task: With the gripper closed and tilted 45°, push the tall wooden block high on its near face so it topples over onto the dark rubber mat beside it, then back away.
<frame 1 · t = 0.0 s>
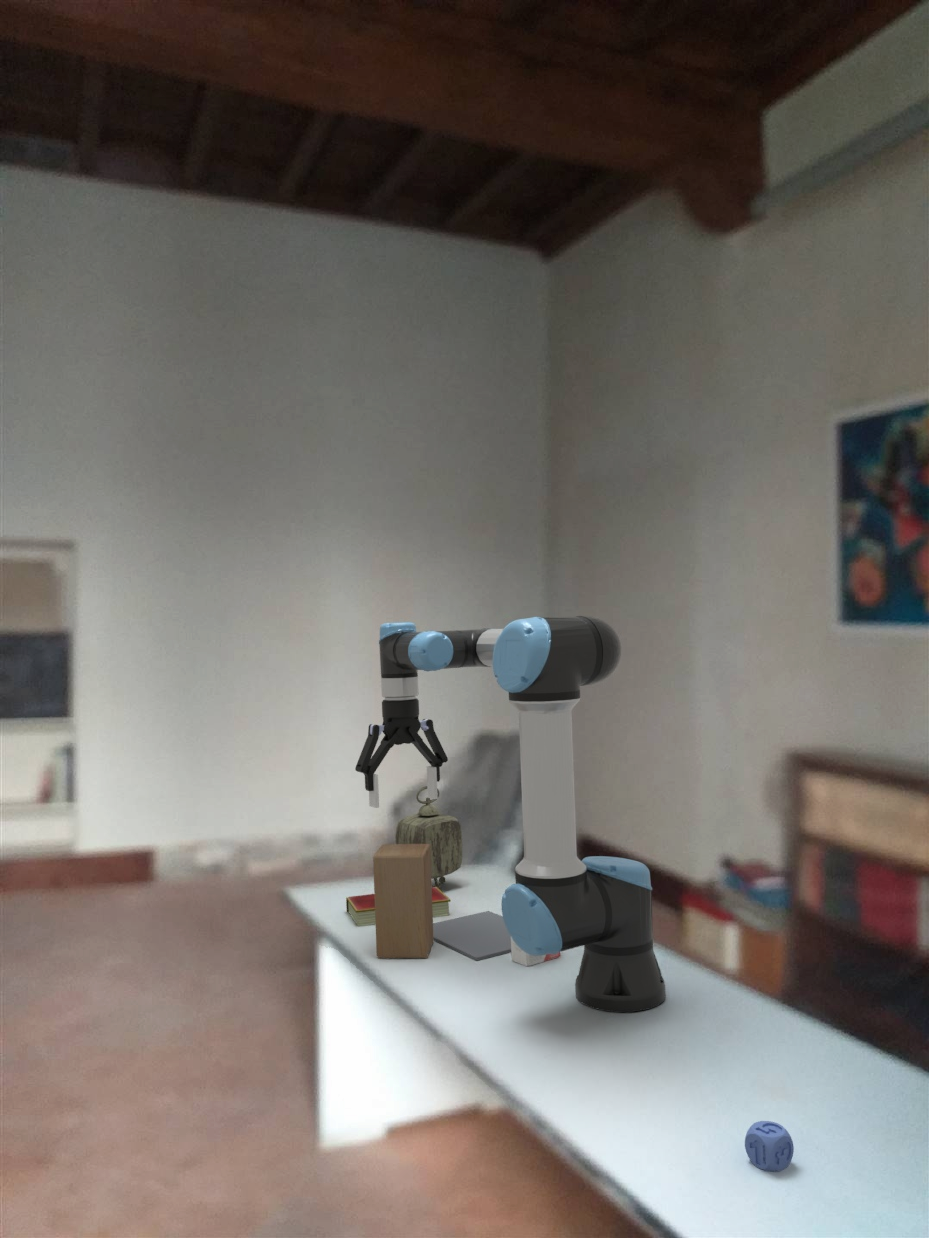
hand: (404, 802, 207), 28 cm above the table, tool pointing down, fingers open, 13 cm apart
decorative dice: (769, 1164, 119), on the table
hardcover book: (398, 916, 226), on the table
ink cartridge box: (535, 959, 193), on the table
tabletop clock: (432, 890, 245), on the table
wooden block: (405, 951, 200), on the table
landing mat: (483, 935, 208), on the table
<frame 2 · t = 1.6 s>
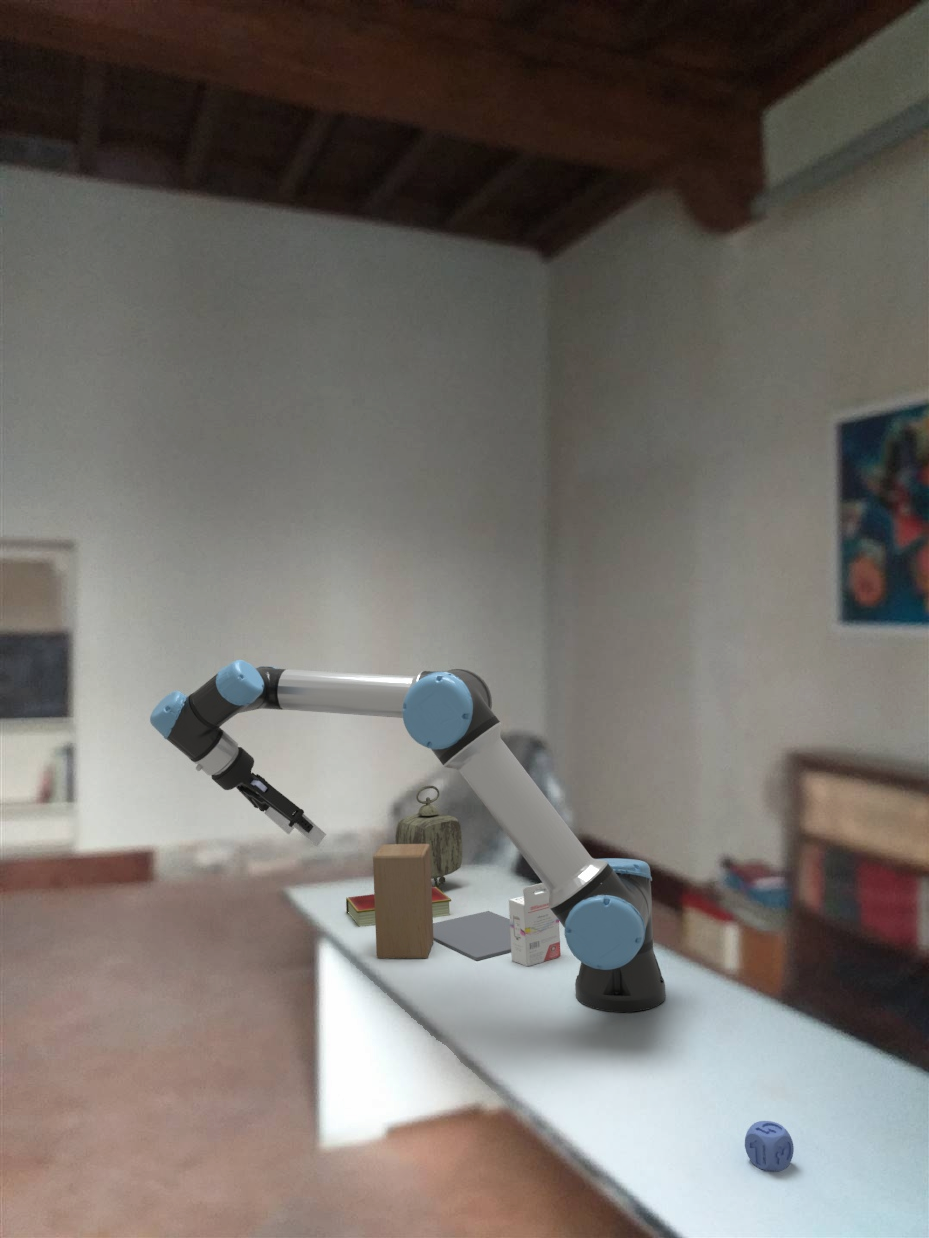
hand: (306, 834, 190), 26 cm above the table, tool tilted 45°, fingers open, 12 cm apart
nothing on the table moved.
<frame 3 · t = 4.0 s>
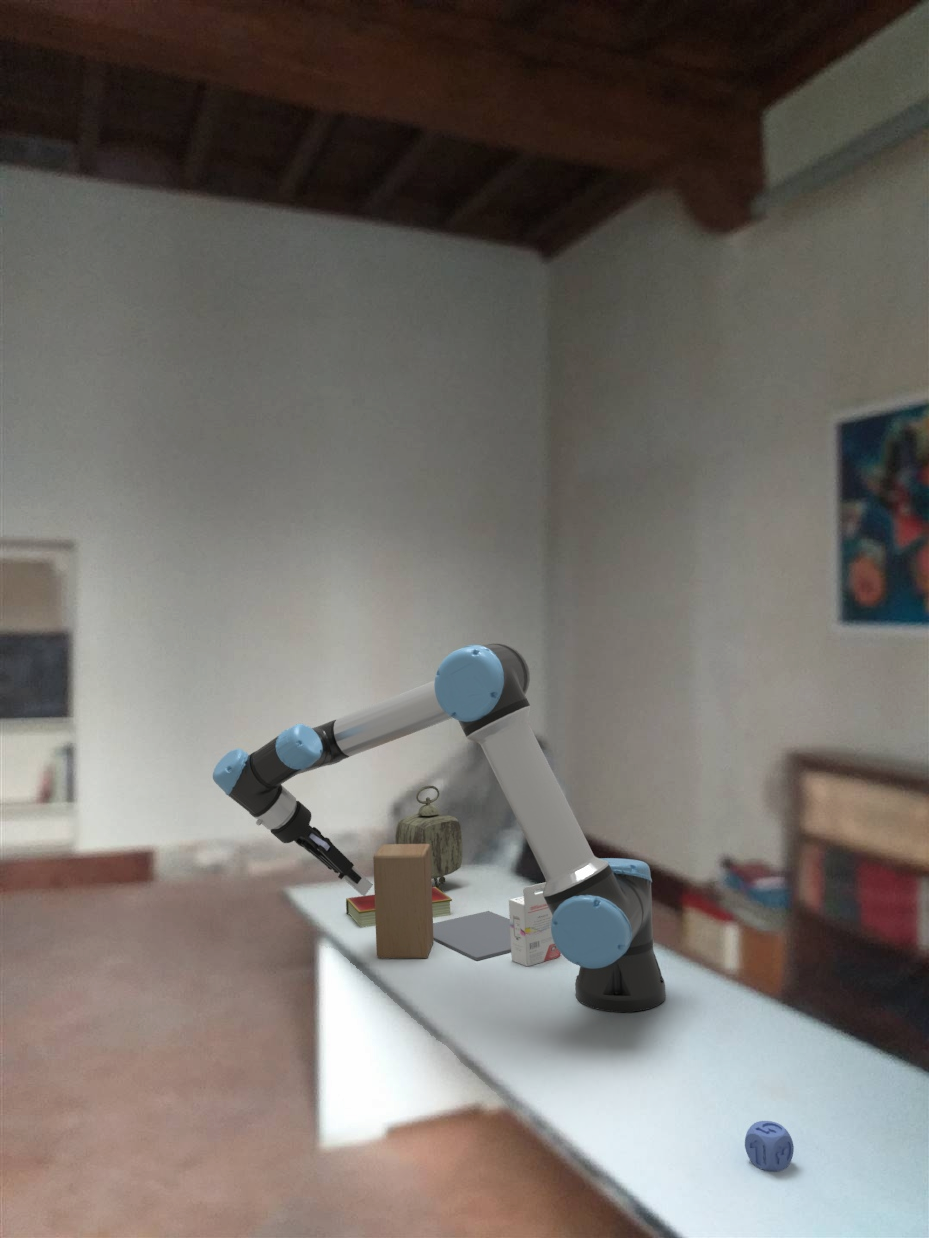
hand: (367, 889, 196), 13 cm above the table, tool tilted 45°, fingers closed
wooden block: (405, 951, 200), on the table, touching gripper
everything else where it was.
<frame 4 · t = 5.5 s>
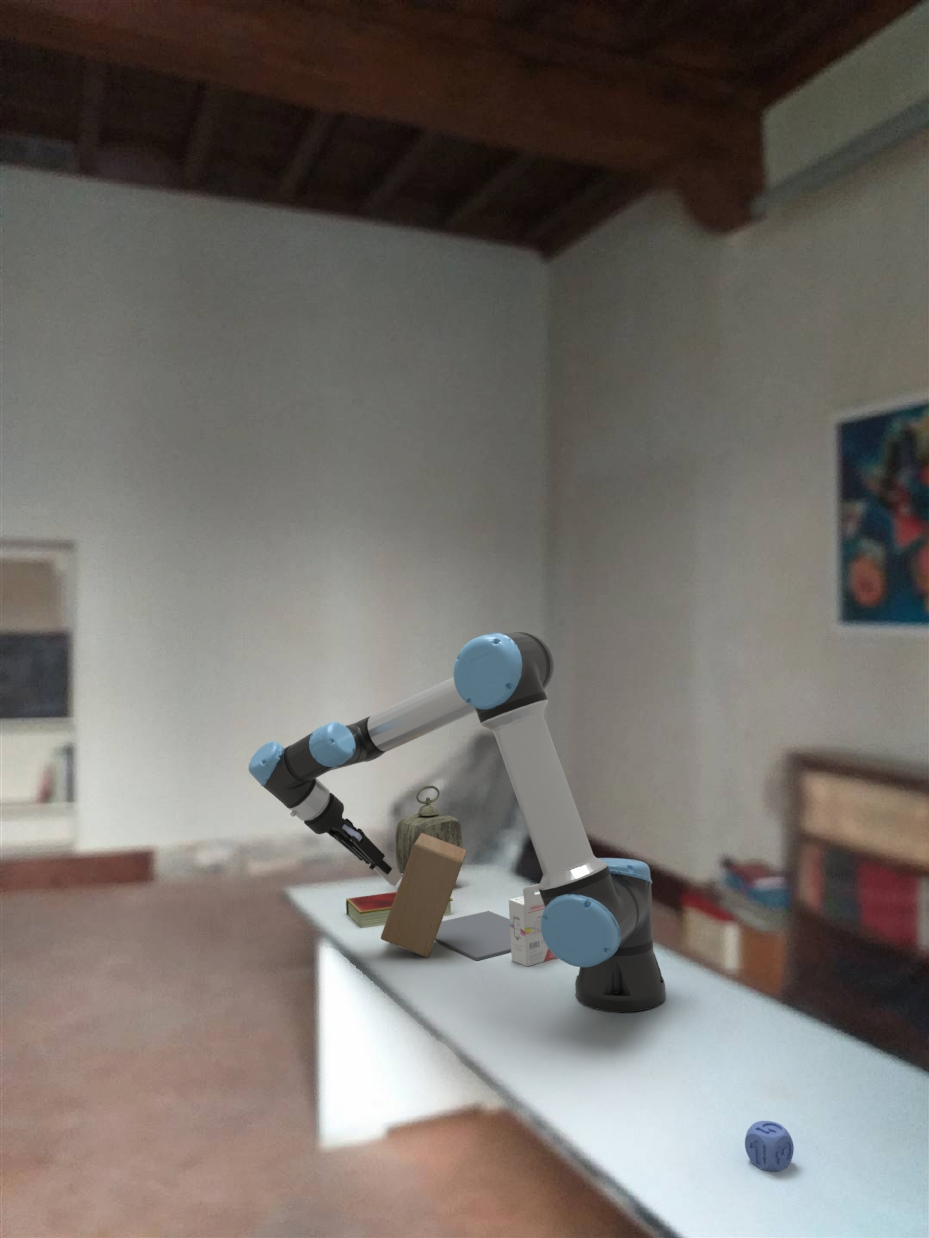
hand: (396, 880, 200), 14 cm above the table, tool tilted 45°, fingers closed
wooden block: (407, 941, 200), point 2 cm above the table
everything else where it was.
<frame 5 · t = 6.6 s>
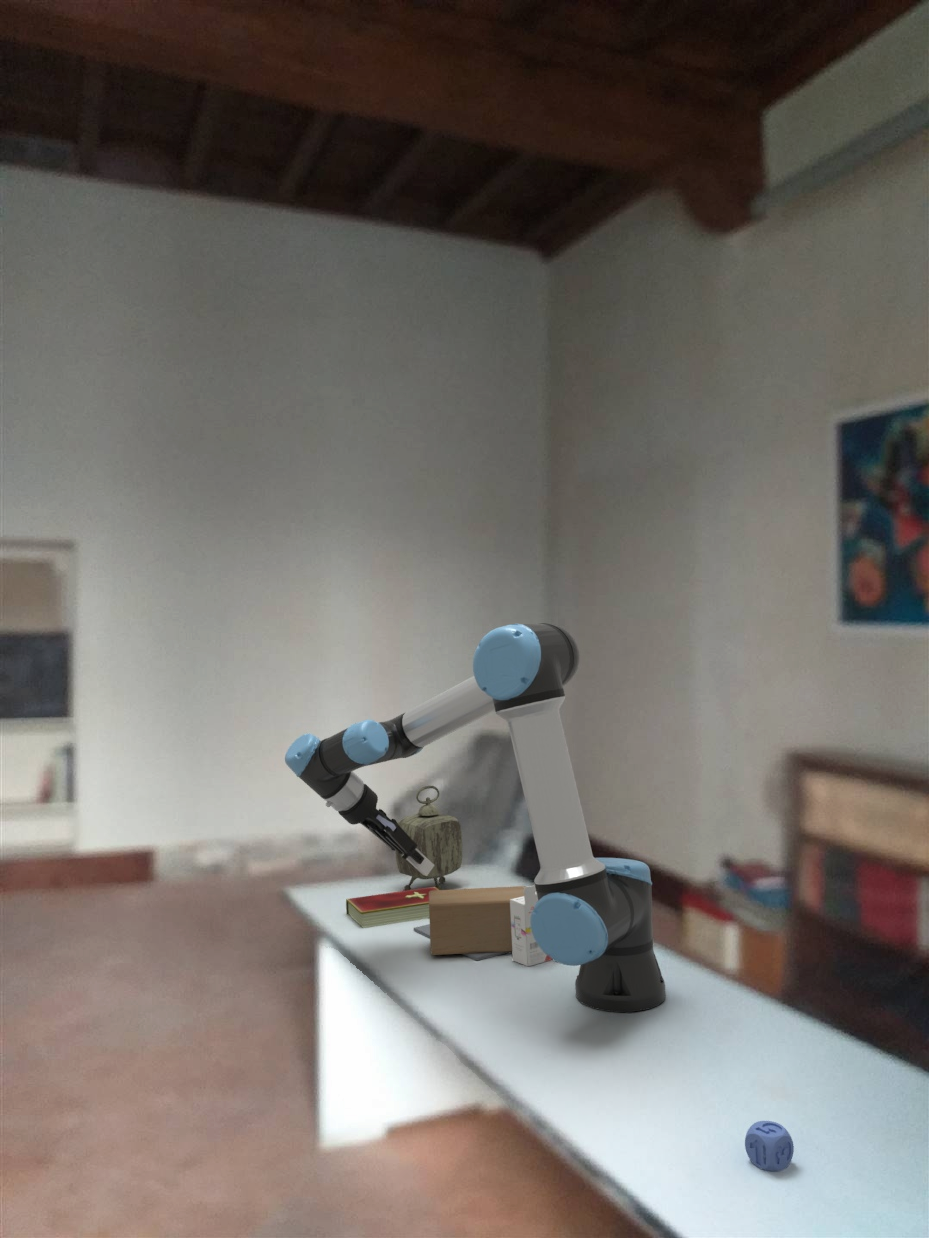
hand: (428, 869, 204), 15 cm above the table, tool tilted 45°, fingers closed
ink cartridge box: (536, 959, 193), on the table, touching wooden block
wooden block: (428, 922, 200), point 6 cm above the table, touching ink cartridge box, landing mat
everything else where it was.
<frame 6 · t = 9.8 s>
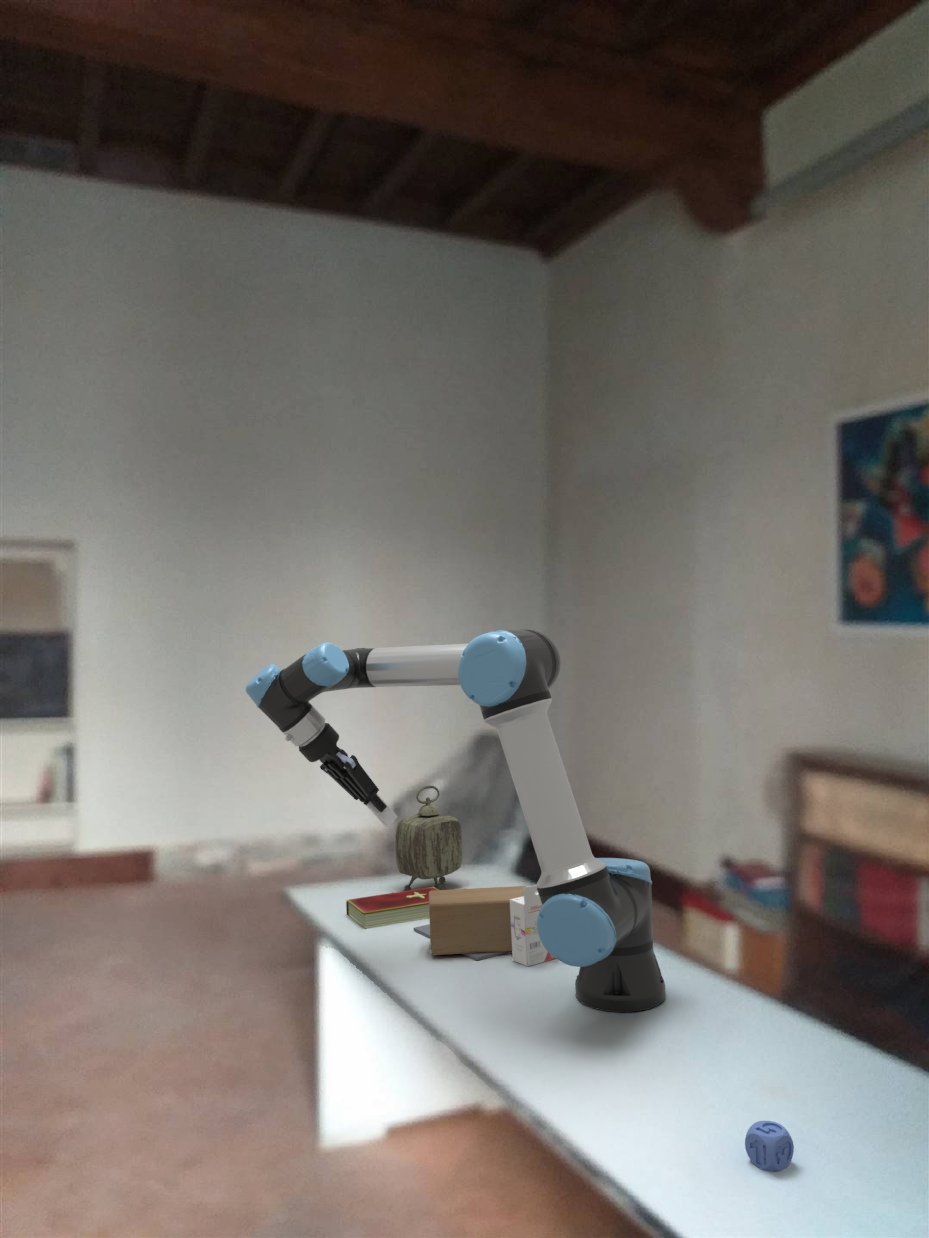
hand: (391, 821, 198), 26 cm above the table, tool tilted 40°, fingers closed
ink cartridge box: (536, 959, 193), on the table
wooden block: (428, 922, 200), point 6 cm above the table, touching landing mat
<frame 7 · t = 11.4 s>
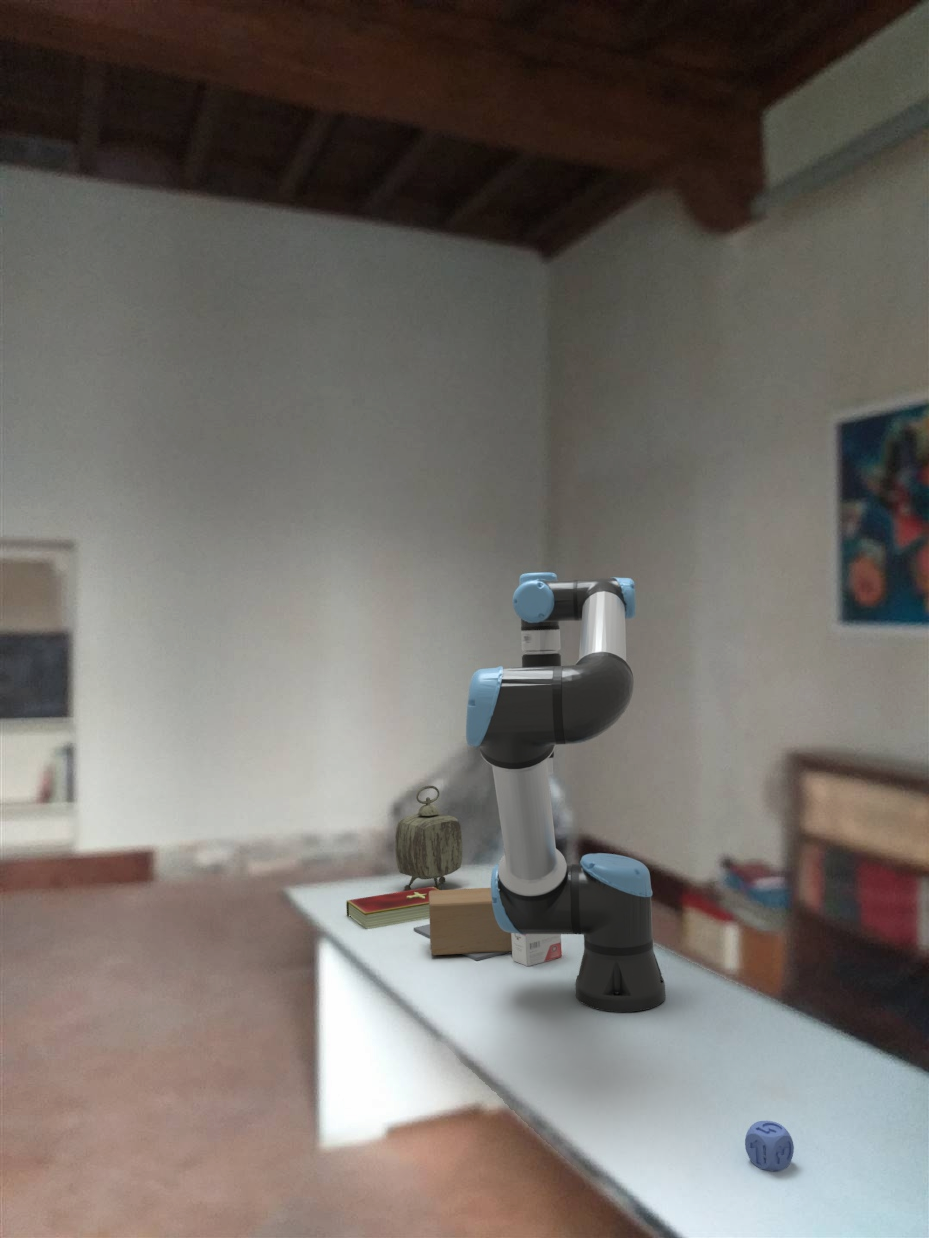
hand: (545, 774, 196), 34 cm above the table, tool pointing down, fingers closed
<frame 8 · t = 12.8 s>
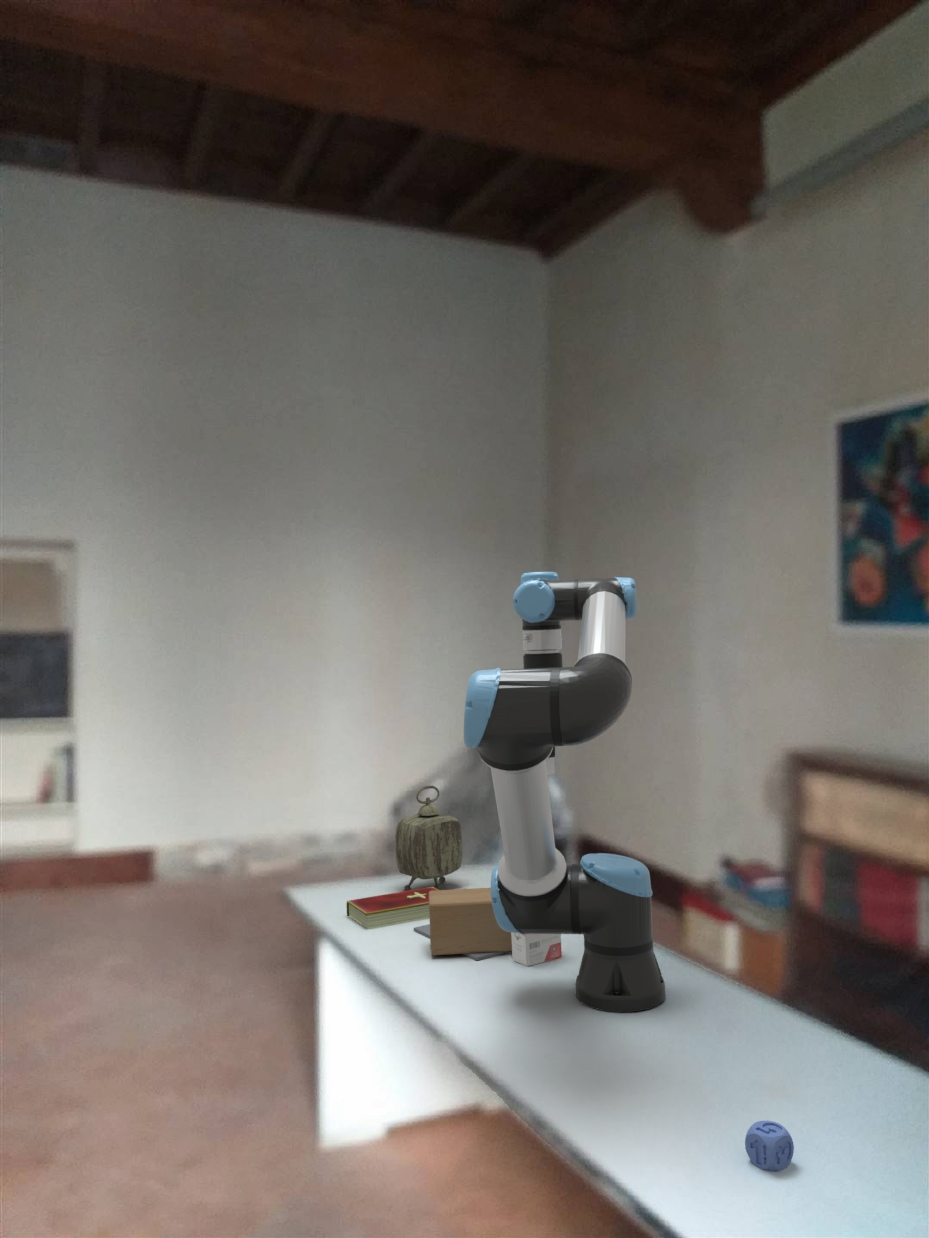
hand: (546, 773, 196), 34 cm above the table, tool pointing down, fingers closed
at the end: wooden block tilted 90°; wooden block touching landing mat; wooden block inside the target area (11.0 cm from its centre), point 5.6 cm above the table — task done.
